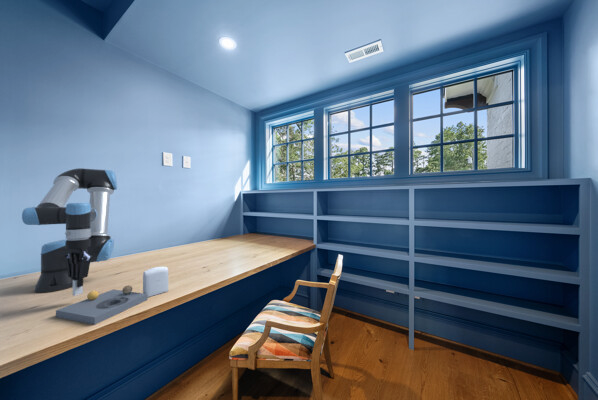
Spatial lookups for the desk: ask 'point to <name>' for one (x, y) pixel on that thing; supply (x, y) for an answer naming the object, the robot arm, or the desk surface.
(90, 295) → the ball
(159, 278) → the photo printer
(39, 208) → the robot arm
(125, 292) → the cork ball
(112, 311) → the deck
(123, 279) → the desk surface
